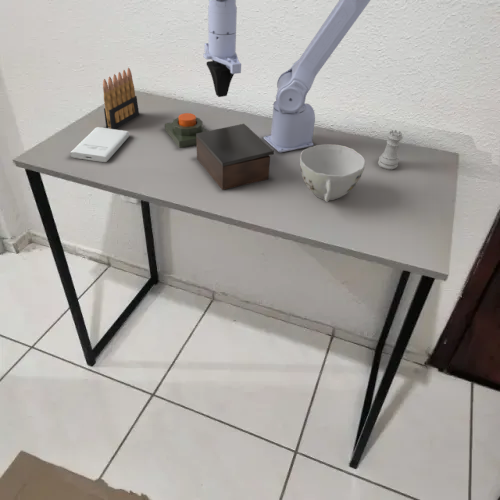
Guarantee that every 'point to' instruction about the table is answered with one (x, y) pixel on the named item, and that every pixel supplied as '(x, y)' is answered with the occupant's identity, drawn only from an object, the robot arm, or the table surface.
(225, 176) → the wooden lidded box
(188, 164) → the table surface
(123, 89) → the ammunition clip
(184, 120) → the button
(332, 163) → the teacup
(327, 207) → the table surface
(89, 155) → the hard drive
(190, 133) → the control block
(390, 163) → the rook chess piece
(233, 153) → the lid
